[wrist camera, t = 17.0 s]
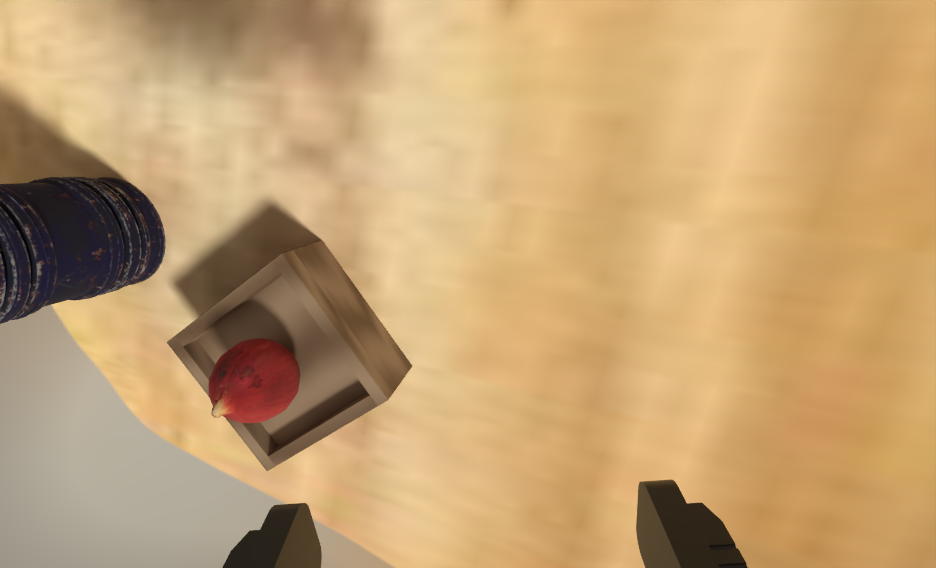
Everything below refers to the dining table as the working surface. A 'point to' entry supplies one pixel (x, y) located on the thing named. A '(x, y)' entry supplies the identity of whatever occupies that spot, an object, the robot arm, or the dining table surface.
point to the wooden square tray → (301, 348)
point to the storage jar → (73, 241)
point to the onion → (254, 381)
